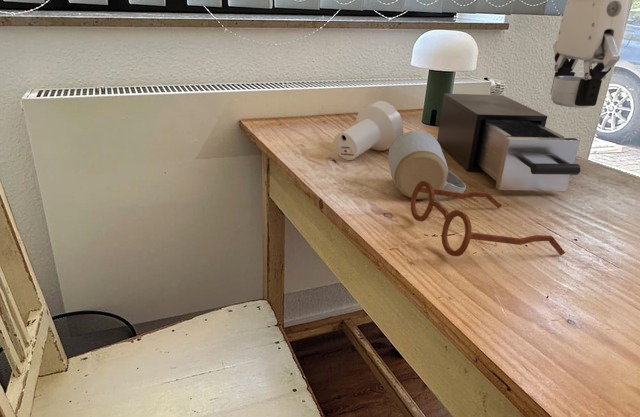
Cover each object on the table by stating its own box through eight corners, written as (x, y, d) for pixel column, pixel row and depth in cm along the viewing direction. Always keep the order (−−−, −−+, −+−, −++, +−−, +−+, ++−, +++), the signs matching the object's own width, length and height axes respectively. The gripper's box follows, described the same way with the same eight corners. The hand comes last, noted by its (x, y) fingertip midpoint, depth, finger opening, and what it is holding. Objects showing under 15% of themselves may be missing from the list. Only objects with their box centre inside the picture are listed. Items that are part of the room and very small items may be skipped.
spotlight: (408, 145, 84) (401, 99, 81) (369, 172, 77) (358, 123, 74) (371, 142, 90) (362, 99, 86) (331, 168, 83) (320, 122, 79)
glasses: (406, 213, 61) (411, 175, 59) (499, 207, 64) (506, 171, 62) (457, 267, 50) (465, 223, 48) (566, 257, 53) (578, 215, 51)
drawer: (585, 203, 65) (600, 150, 62) (513, 203, 64) (525, 149, 61) (518, 157, 82) (528, 114, 79) (461, 156, 81) (469, 113, 78)
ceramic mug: (390, 201, 65) (397, 144, 62) (384, 178, 72) (391, 127, 69) (470, 206, 65) (482, 151, 61) (456, 184, 72) (466, 133, 69)
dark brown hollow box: (534, 172, 78) (547, 116, 75) (467, 171, 77) (477, 114, 73) (493, 143, 92) (503, 95, 89) (436, 142, 91) (443, 93, 87)
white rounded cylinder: (578, 100, 83) (584, 75, 82) (601, 108, 77) (608, 82, 76) (542, 99, 83) (547, 75, 81) (563, 108, 77) (569, 82, 75)
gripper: (667, -21, 65) (628, 113, 72) (589, -20, 81) (564, 90, 88) (614, -23, 64) (580, 112, 72) (546, -21, 80) (524, 90, 87)
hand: (572, 99), depth 80 cm, fingers closed on white rounded cylinder, 6 cm apart
